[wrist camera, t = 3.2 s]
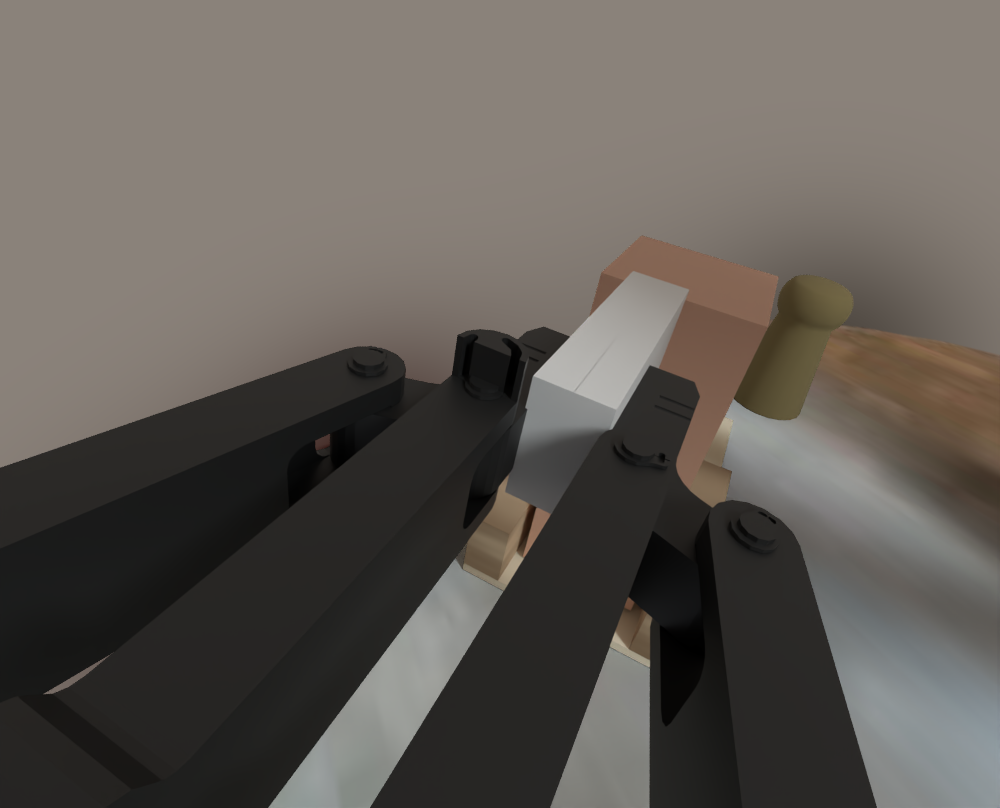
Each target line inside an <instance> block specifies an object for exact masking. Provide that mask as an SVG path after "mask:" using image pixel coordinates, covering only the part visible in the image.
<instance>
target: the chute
mask: <svg viewBox="0 0 1000 808" xmlns="http://www.w3.org/2000/svg"><path fill="white" fill-rule="evenodd" d="M732 423H733V420H731V419H728V418H726V417H724V419H723V421H722V423H721V425H720V427H719V429H718V431H717V433H716V435H715V437H714V440H713V442H712V444H711V446H710V448H709V450H708V452H707V454H706V456H705V458H704V460H703V462H702V464H701V466H700V468H699V470H698V472H697V475H696V477H695V479H694V481H693V483H692V485H691V487H690V489H689V490H690V491H691V492H692V493H694V494H695V495H696V496H697V497H698V498H700V499H701V500H702V501H704V502H705V503H707V504H708V505H710V506H711V507H712V508H713V507H714V506H715V505H716V504H717V503H719V502H724V501H725V500H726V495H727V491H728V487H729V482H730V478H731V473H732V471H729V470H727V469H724V468H722V463H723V459H724V455H725V451H726V447H727V443H728V439H729V435H730V431H731V427H732ZM508 477H509V474H508V476H507V477H506V478H505V479H504V481H503V482H502V483H501V485H500V486H499V488H498V493H497V497H496V501H495V503H494V506H493V508H492V510H491V511H490V512H489V514H488V515H487V516H486V518H485V519H484V520H483V522H482V523H481V524H480V526H479V527H478V528H477V530H476V531H475V532H474V534H473V535H472V536H471V538H470V539H469V540H468V543H467V548H466V554H465V559H464V565H463V570H465V571H467V572H469V573H471V574H473V575H475V576H477V577H478V578H480V579H482V580H484V581H486V582H488V583H490V584H492V585H494V586H496V587H497V588H499V589H501V590H503V591H504V590H505V588H506V587H507V585H508V583H509V582H510V580H511V578H512V577H513V575H514V574H515V572H516V570H517V569H518V567H519V565H520V564H521V562H522V561H523V559H524V557H523V555H524V551H525V547H526V544H527V540H528V537H529V533H530V529H531V526H532V522H533V518H534V515H535V511H536V508H537V507H535V506H533V505H531V504H529V503H527V502H525V501H523V500H521V499H519V498H516V497H514V496H512V495H510V494H508V493H506V492H505V490H506V485H507V481H508ZM651 621H652V617H651V616H650V615H648V614H647V613H646V612H645V611H644V610H643V609H642V608H640V607H639V606H638V605H637V604H636V603H635V602H634V604H633V607H632V609H631V611H630V610H628V609H626V608H624V609H623V612H622V615H621V617H620V620H619V623H618V626H617V628H616V631H615V634H614V636H613V639H612V642H611V644H610V647H611V648H613V649H615V650H617V651H619V652H621V653H622V654H624V655H626V656H628V657H630V658H632V659H634V660H636V661H638V662H639V663H641V664H643V665H645V666H647V667H649V668H650V625H651Z"/></svg>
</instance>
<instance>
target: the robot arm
mask: <svg viewBox="0 0 1000 808" xmlns="http://www.w3.org/2000/svg"><path fill="white" fill-rule="evenodd" d="M688 292H689V289H686V288H683V287H680V286H677V285H674V284H671V283H668V282H665V281H662V280H659V279H656V278H653V277H650V276H647V275H644V274H641V273H638V272H635V271H633V272H632V273H631V274H630V275H629V276H628V277H627V278H626V279H625V280H624V281H623V282H622V283H621V284H620V285H619V286H618V287H617V288H616V289H615V290H614V291H613V293H612V294H611V295H610V296H609V297H608V298H607V299H606V300H605V301H604V302H603V303H602V304H601V305H600V306H599V307H598V308H597V309H596V310H595V311H594V312H593V314H592V315H591V316H590V317H589V318H588V319H587V320H586V321H585V322H584V323H583V324H582V325H581V326H580V327H579V328H578V329H577V330H576V331H575V332H574V333H573V335H572V336H571V337H570V336H567V335H564V334H562V333H559V332H556V331H554V330H551V329H548V328H546V327H541V328H538V329H534V330H531V331H527V332H526V333H525V334H523V336H521V337H520V338H519V339H518V340H517V339H515V338H513V337H512V336H510V335H508V334H504V333H500V332H497V331H492V330H481V329H479V330H471V331H466V332H464V333H462V334H459V335H458V337H457V343H456V350H455V357H454V365H453V371H452V375H451V376H450V377H449V378H448V379H446V380H445V381H444V382H443V383H442V384H433V383H427V382H422V381H417V380H412V379H407V378H405V372H406V368H405V364H404V361H403V360H402V359H401V358H400V357H399V356H398V355H396V354H394V353H392V352H390V351H388V350H385V349H382V348H377V347H372V346H369V347H354V348H349V349H345V350H342V351H339V352H336V353H333V354H330V355H327V356H324V357H321V358H319V359H315V360H313V361H310V362H307V363H304V364H301V365H298V366H295V367H292V368H290V369H286V370H284V371H281V372H278V373H275V374H272V375H269V376H266V377H263V378H260V379H257V380H254V381H252V382H249V383H246V384H243V385H240V386H237V387H234V388H231V389H228V390H225V391H222V392H219V393H217V394H214V395H211V396H208V397H205V398H202V399H199V400H196V401H194V402H190V403H188V404H185V405H182V406H179V407H176V408H173V409H170V410H167V411H165V412H162V413H159V414H155V415H153V416H150V417H147V418H144V419H141V420H138V421H135V422H132V423H129V424H127V425H124V426H121V427H118V428H115V429H112V430H109V431H106V432H103V433H100V434H97V435H95V436H92V437H89V438H86V439H83V440H80V441H77V442H74V443H71V444H68V445H65V446H62V447H60V448H57V449H54V450H51V451H48V452H45V453H42V454H40V455H36V456H34V457H31V458H28V459H25V460H22V461H19V462H16V463H13V464H10V465H7V466H4V467H1V468H0V808H268V807H269V806H270V804H271V803H272V802H273V800H274V799H275V798H276V796H277V795H278V794H279V792H280V791H281V790H282V788H283V787H284V786H285V784H286V783H287V782H288V780H289V779H290V778H291V776H292V775H293V774H294V772H295V771H296V770H297V768H298V767H299V766H300V764H301V763H302V762H303V760H304V759H305V758H306V756H307V755H308V754H309V752H310V751H311V750H312V748H313V747H314V746H315V744H316V743H317V742H318V740H319V739H320V738H321V736H322V735H323V734H324V732H325V731H326V730H327V728H328V727H329V726H330V724H331V723H332V722H333V720H334V719H335V718H336V716H337V715H338V714H339V712H340V711H341V710H342V708H343V707H344V706H345V704H346V703H347V702H348V700H349V699H350V698H351V696H352V695H353V694H354V692H355V691H356V690H357V688H358V687H359V686H360V684H361V683H362V682H363V680H364V679H365V678H366V676H367V675H368V674H369V672H370V671H371V670H372V668H373V667H374V666H375V664H376V663H377V662H378V660H379V659H380V658H381V656H382V655H383V654H384V652H385V651H386V650H387V648H388V647H389V646H390V644H391V643H392V642H393V640H394V639H395V638H396V636H397V635H398V634H399V632H400V631H401V630H402V628H403V627H404V626H405V624H406V623H407V622H408V620H409V619H410V618H411V616H412V615H413V614H414V612H415V611H416V610H417V608H418V607H419V606H420V604H421V603H422V602H423V600H424V599H425V598H426V596H427V595H428V594H429V592H430V591H431V590H432V588H433V587H434V586H435V584H436V583H437V582H438V580H439V579H440V578H441V576H442V575H443V574H444V572H445V571H446V570H447V568H448V567H449V566H450V564H451V563H452V562H453V560H454V559H455V558H456V556H457V555H458V554H459V552H460V551H461V550H462V548H463V547H464V546H465V544H466V543H467V542H468V540H469V539H470V538H471V536H472V535H473V534H474V532H475V531H476V530H477V528H478V527H479V526H480V524H481V523H482V522H483V520H484V519H485V518H486V516H487V515H488V514H489V512H490V511H491V510H492V508H493V506H494V503H495V501H496V497H497V493H498V488H499V486H500V485H501V483H502V482H503V481H504V479H505V478H506V477H507V476H508V474H509V477H508V481H507V485H506V490H505V492H506V493H508V494H510V495H512V496H514V497H516V498H519V499H521V500H523V501H525V502H527V503H529V504H531V505H533V506H535V507H537V508H539V509H541V510H544V511H546V512H548V513H550V514H551V515H550V517H549V518H548V520H547V522H546V523H545V525H544V527H543V528H542V530H541V531H540V533H539V535H538V536H537V538H536V540H535V541H534V543H533V544H532V546H531V548H530V549H529V551H528V553H527V554H526V556H525V557H524V559H523V561H522V562H521V564H520V565H519V567H518V569H517V570H516V572H515V574H514V575H513V577H512V578H511V580H510V582H509V583H508V585H507V587H506V588H505V590H504V591H503V593H502V595H501V596H500V598H499V600H498V601H497V603H496V604H495V606H494V608H493V609H492V611H491V613H490V614H489V616H488V617H487V619H486V621H485V622H484V624H483V625H482V627H481V629H480V630H479V632H478V634H477V635H476V637H475V638H474V640H473V642H472V643H471V645H470V647H469V648H468V650H467V651H466V653H465V655H464V656H463V658H462V660H461V661H460V663H459V664H458V666H457V668H456V669H455V671H454V672H453V674H452V676H451V677H450V679H449V681H448V682H447V684H446V685H445V687H444V689H443V690H442V692H441V694H440V695H439V697H438V698H437V700H436V702H435V703H434V705H433V707H432V708H431V710H430V711H429V713H428V715H427V716H426V718H425V720H424V721H423V723H422V724H421V726H420V728H419V729H418V731H417V732H416V734H415V736H414V737H413V739H412V741H411V742H410V744H409V745H408V747H407V749H406V750H405V752H404V754H403V755H402V757H401V758H400V760H399V762H398V763H397V765H396V767H395V768H394V770H393V771H392V773H391V775H390V776H389V778H388V779H387V781H386V783H385V784H384V786H383V788H382V789H381V791H380V792H379V794H378V796H377V797H376V799H375V801H374V802H373V804H372V805H371V807H370V808H550V806H551V804H552V801H553V798H554V795H555V793H556V790H557V787H558V785H559V782H560V779H561V777H562V774H563V771H564V768H565V766H566V763H567V760H568V758H569V755H570V752H571V750H572V747H573V744H574V742H575V739H576V736H577V733H578V731H579V728H580V725H581V723H582V720H583V717H584V715H585V712H586V709H587V706H588V704H589V701H590V698H591V696H592V693H593V690H594V688H595V685H596V682H597V680H598V677H599V674H600V671H601V669H602V666H603V663H604V661H605V658H606V655H607V653H608V650H609V647H610V644H611V642H612V639H613V636H614V634H615V631H616V628H617V626H618V623H619V620H620V617H621V615H622V612H623V609H624V607H625V604H626V601H627V599H628V597H629V598H630V599H631V600H632V601H634V602H635V603H636V604H637V605H638V606H639V607H640V608H642V609H643V610H644V611H645V612H646V613H647V614H648V615H650V616H651V617H652V621H651V625H650V808H877V806H876V803H875V799H874V796H873V793H872V789H871V786H870V782H869V779H868V776H867V772H866V769H865V765H864V762H863V759H862V755H861V752H860V748H859V745H858V742H857V738H856V735H855V731H854V728H853V725H852V721H851V718H850V714H849V711H848V708H847V704H846V701H845V697H844V694H843V691H842V687H841V684H840V680H839V677H838V674H837V670H836V667H835V663H834V660H833V656H832V653H831V650H830V646H829V643H828V639H827V636H826V633H825V629H824V626H823V622H822V619H821V616H820V612H819V609H818V605H817V602H816V599H815V595H814V592H813V588H812V585H811V582H810V578H809V575H808V571H807V568H806V565H805V561H804V558H803V554H802V551H801V548H800V545H799V543H798V541H797V540H796V538H795V536H794V534H793V532H792V531H791V530H790V529H789V528H788V527H787V526H786V525H785V524H784V523H783V522H782V521H781V520H780V519H778V518H777V517H775V516H774V515H772V514H771V513H769V512H768V511H766V510H765V509H762V508H760V507H757V506H755V505H752V504H750V503H747V502H740V501H734V500H730V501H724V502H719V503H717V504H716V505H715V506H714V507H713V508H712V507H711V506H710V505H708V504H707V503H705V502H704V501H702V500H701V499H700V498H698V497H697V496H696V495H695V494H694V493H692V492H691V491H690V490H689V489H688V488H687V486H686V485H685V484H684V483H683V482H682V480H681V478H680V476H679V475H678V472H677V468H676V463H677V458H678V455H679V452H680V450H681V447H682V444H683V441H684V439H685V436H686V433H687V431H688V428H689V425H690V423H691V420H692V417H693V414H694V412H695V409H696V406H697V404H698V401H699V398H700V395H699V392H698V390H697V387H696V384H695V382H693V381H691V380H688V379H685V378H683V377H680V376H677V375H675V374H672V373H669V372H667V371H664V370H662V369H659V366H660V364H661V361H662V359H663V356H664V354H665V351H666V349H667V346H668V343H669V341H670V338H671V336H672V333H673V331H674V328H675V325H676V323H677V320H678V318H679V315H680V313H681V310H682V308H683V305H684V302H685V300H686V297H687V295H688ZM328 434H330V446H329V447H327V448H325V449H321V450H317V451H316V449H315V440H317V439H319V438H321V437H324V436H326V435H328ZM113 652H114V653H113ZM110 654H111V655H110ZM108 655H110V656H109V657H108V658H106V659H105V660H104V661H103V662H102V663H100V664H99V665H98V666H97V667H95V668H94V669H93V670H92V671H90V672H89V673H88V674H87V675H86V676H84V677H83V678H81V679H80V680H78V681H77V682H75V683H74V684H73V685H71V686H70V687H68V688H65V689H63V690H61V691H58V692H56V693H54V694H44V693H46V692H47V691H49V690H51V689H52V688H54V687H56V686H57V685H59V684H61V683H63V682H64V681H66V680H68V679H69V678H71V677H73V676H74V675H76V674H78V673H80V672H81V671H83V670H85V669H86V668H88V667H90V666H91V665H93V664H95V663H96V662H98V661H100V660H102V659H103V658H105V657H107V656H108Z"/></svg>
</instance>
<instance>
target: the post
mask: <svg viewBox="0 0 1000 808" xmlns="http://www.w3.org/2000/svg"><path fill="white" fill-rule="evenodd" d="M633 271H635V272H638V273H641V274H644V275H647V276H650V277H653V278H656V279H659V280H662V281H665V282H668V283H671V284H674V285H677V286H680V287H683V288H686V289H689V292H688V295H687V297H686V300H685V302H684V305H683V308H682V310H681V313H680V315H679V318H678V320H677V323H676V325H675V328H674V331H673V333H672V336H671V338H670V341H669V343H668V346H667V349H666V351H665V354H664V356H663V359H662V361H661V364H660V366H659V369H662V370H664V371H667V372H669V373H672V374H675V375H677V376H680V377H683V378H685V379H688V380H691V381H693V382H695V384H696V387H697V390H698V392H699V395H700V398H699V401H698V404H697V406H696V409H695V412H694V414H693V417H692V420H691V423H690V425H689V428H688V431H687V433H686V436H685V439H684V441H683V444H682V447H681V450H680V452H679V455H678V458H677V463H676V468H677V472H678V475H679V476H680V478H681V480H682V482H683V483H684V484H685V485H686V486H687V488H688V489H690V487H691V485H692V483H693V481H694V479H695V477H696V475H697V472H698V470H699V468H700V466H701V464H702V462H703V460H704V458H705V456H706V454H707V452H708V450H709V448H710V446H711V444H712V442H713V440H714V437H715V435H716V433H717V431H718V429H719V427H720V425H721V423H722V421H723V419H724V417H725V415H726V413H727V411H728V409H729V407H730V404H731V402H732V400H733V398H734V396H735V394H736V392H737V390H738V388H739V386H740V384H741V382H742V380H743V378H744V376H745V374H746V371H747V369H748V367H749V365H750V363H751V361H752V359H753V357H754V355H755V353H756V351H757V349H758V347H759V345H760V343H761V341H762V338H763V336H764V334H765V332H766V330H767V328H768V325H769V320H770V315H771V310H772V305H773V301H774V296H775V291H776V286H777V282H778V276H775V275H772V274H768V273H765V272H762V271H758V270H755V269H752V268H748V267H745V266H742V265H738V264H735V263H732V262H728V261H725V260H722V259H719V258H715V257H712V256H709V255H705V254H702V253H699V252H695V251H692V250H689V249H685V248H682V247H679V246H675V245H672V244H669V243H665V242H662V241H658V240H655V239H652V238H648V237H645V236H641V237H640V238H638V239H637V240H636V241H635V242H634V243H633V244H632V245H631V246H630V247H629V248H628V249H627V250H625V252H623V253H622V254H621V255H620V256H619V257H618V258H617V259H616V260H615V261H614V262H613V263H611V264H610V265H609V266H608V267H607V268H606V269H605V270H604V271H603V272H602V273H601V276H600V280H599V283H598V287H597V291H596V294H595V298H594V302H593V305H592V309H591V312H590V316H591V315H592V314H593V312H594V311H595V310H596V309H597V308H598V307H599V306H600V305H601V304H602V303H603V302H604V301H605V300H606V299H607V298H608V297H609V296H610V295H611V294H612V293H613V291H614V290H615V289H616V288H617V287H618V286H619V285H620V284H621V283H622V282H623V281H624V280H625V279H626V278H627V277H628V276H629V275H630V274H631V273H632V272H633ZM590 316H589V317H590ZM550 515H551V514H550V513H548V512H546V511H544V510H541V509H539V508H536V511H535V515H534V518H533V522H532V526H531V529H530V533H529V537H528V540H527V544H526V547H525V551H524V555H523V557H525V556H526V554H527V553H528V551H529V549H530V548H531V546H532V544H533V543H534V541H535V540H536V538H537V536H538V535H539V533H540V531H541V530H542V528H543V527H544V525H545V523H546V522H547V520H548V518H549V517H550ZM633 604H634V601H632V600H631V599H630V598H629V597H628V599H627V601H626V604H625V607H624V608H626V609H628V610H630V611H631V609H632V607H633Z"/></svg>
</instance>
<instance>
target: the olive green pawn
mask: <svg viewBox="0 0 1000 808" xmlns="http://www.w3.org/2000/svg"><path fill="white" fill-rule="evenodd" d="M777 306H778V310H779V313H778V314H777V316H776V317H775V319H774V320H773V322H772V323H771V325H770V326H769V328H768V329H767V331H766V332H765V334H764V336H763V338H762V341H761V343H760V345H759V347H758V349H757V351H756V353H755V355H754V357H753V359H752V361H751V363H750V365H749V367H748V369H747V371H746V374H745V376H744V378H743V380H742V382H741V384H740V386H739V388H738V390H737V392H736V394H735V396H734V398H735V400H736V401H737V402H738V403H740V404H741V405H743V406H744V407H745V408H747V409H749V410H751V411H753V412H755V413H757V414H759V415H762V416H765V417H768V418H772V419H777V420H791V419H794V418H796V417H797V416H798V415H799V414H800V411H801V409H802V406H803V404H804V401H805V398H806V396H807V393H808V391H809V388H810V386H811V383H812V380H813V378H814V375H815V373H816V370H817V367H818V365H819V362H820V360H821V357H822V354H823V352H824V349H825V347H826V344H827V341H828V339H829V336H830V334H831V331H833V330H835V329H837V328H839V327H840V326H841V325H842V324H843V323H844V322H845V321H846V320H847V319H848V317H849V315H850V314H851V312H852V308H853V297H852V294H851V293H850V292H849V291H848V290H847V289H846V288H845V287H843V286H842V285H840V284H838V283H836V282H834V281H831V280H829V279H826V278H822V277H818V276H813V275H800V276H795V277H794V278H792V279H791V280H789V281H788V282H787V283H786V284H785V285H784V287H783V288H782V290H781V292H780V294H779V298H778V305H777Z"/></svg>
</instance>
